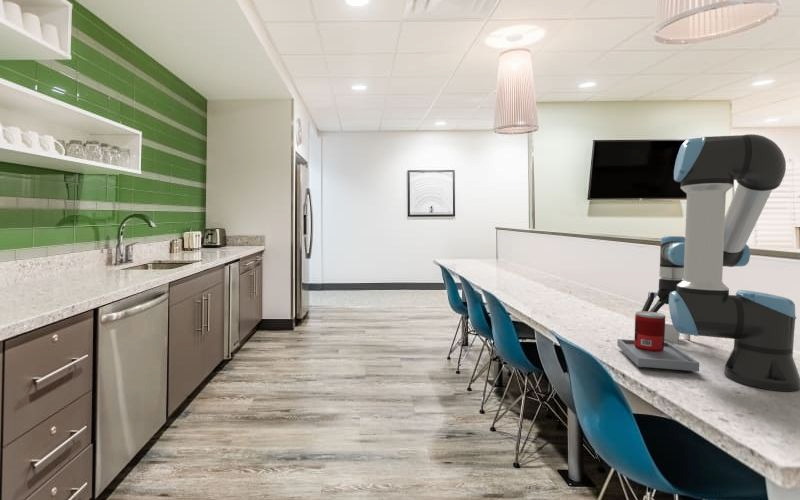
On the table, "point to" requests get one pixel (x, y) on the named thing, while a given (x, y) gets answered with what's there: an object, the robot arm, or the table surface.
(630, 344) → the grey tray
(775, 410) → the table surface
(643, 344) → the canned food
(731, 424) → the table surface
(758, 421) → the table surface
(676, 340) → the light grey cube
